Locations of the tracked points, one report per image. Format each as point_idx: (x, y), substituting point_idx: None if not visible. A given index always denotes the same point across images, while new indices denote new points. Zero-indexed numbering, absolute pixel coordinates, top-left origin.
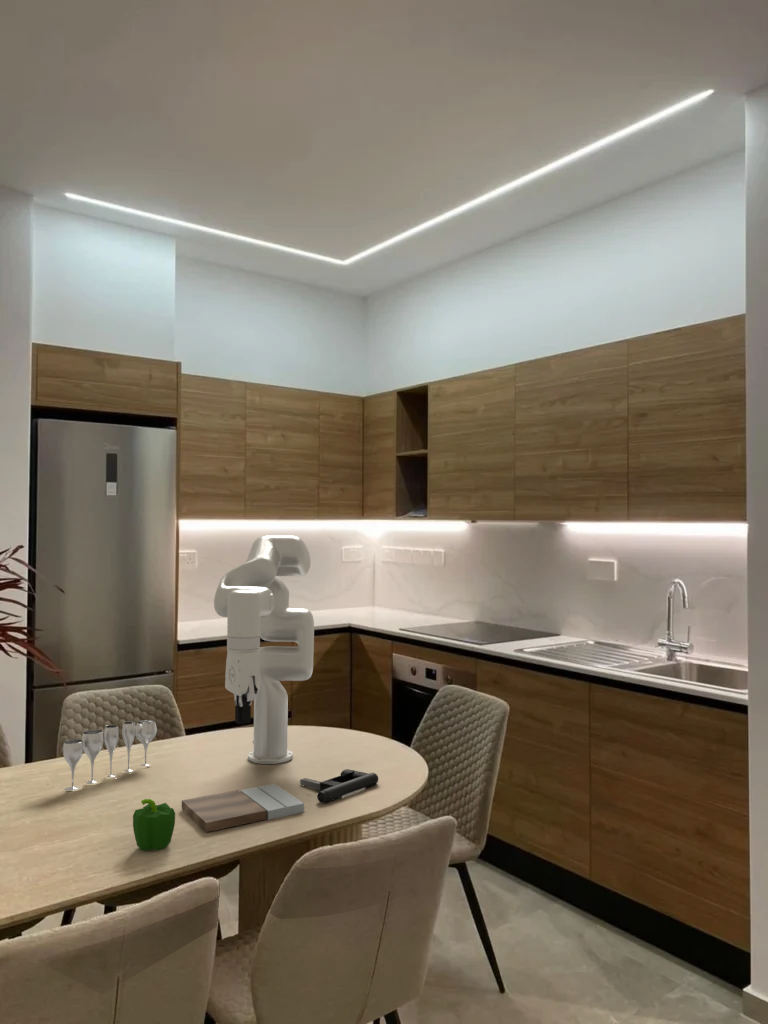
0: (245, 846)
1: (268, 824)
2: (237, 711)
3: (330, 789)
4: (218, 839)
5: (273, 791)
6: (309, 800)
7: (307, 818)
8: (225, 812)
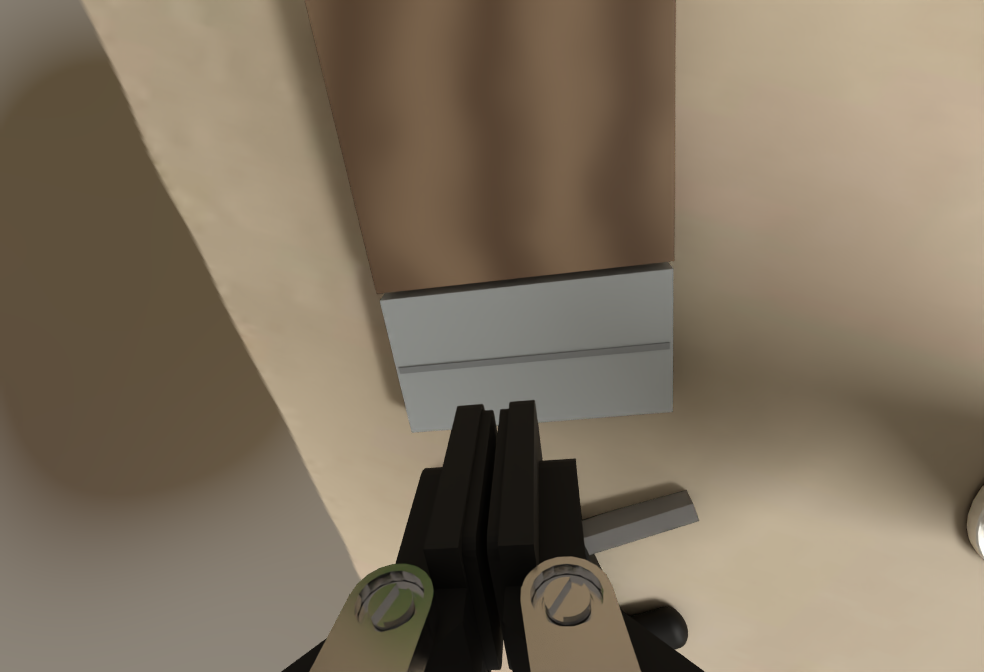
0: (154, 135)
1: (344, 275)
2: (449, 496)
3: None
4: (243, 45)
5: (584, 382)
6: None
7: (358, 405)
8: (408, 127)
